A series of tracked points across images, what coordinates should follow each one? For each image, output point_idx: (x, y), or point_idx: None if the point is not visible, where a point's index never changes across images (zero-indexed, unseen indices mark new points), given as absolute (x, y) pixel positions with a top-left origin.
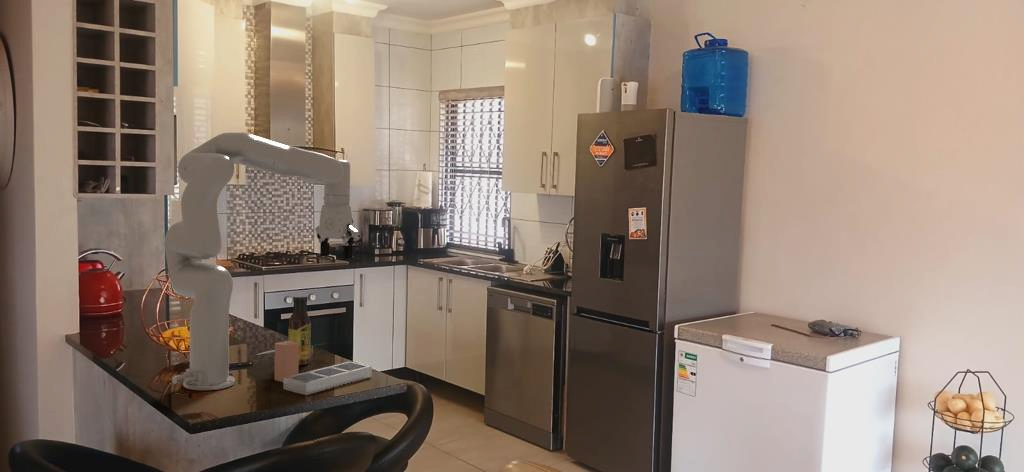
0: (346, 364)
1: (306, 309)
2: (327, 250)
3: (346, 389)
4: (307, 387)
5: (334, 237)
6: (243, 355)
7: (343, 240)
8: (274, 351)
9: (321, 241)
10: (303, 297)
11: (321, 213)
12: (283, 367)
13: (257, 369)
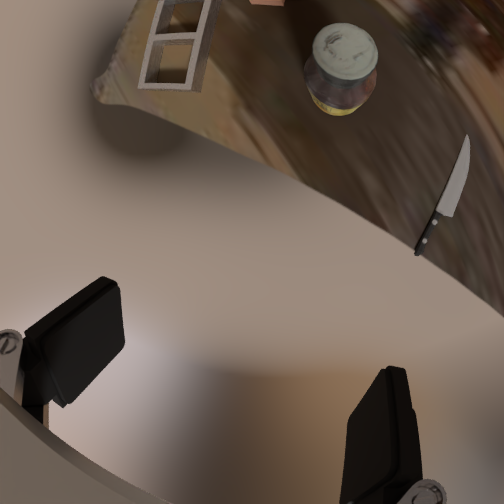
0: (188, 74)
1: (317, 69)
2: (354, 442)
3: (147, 16)
4: None
5: (17, 424)
6: (483, 121)
7: (7, 385)
8: (451, 173)
9: (407, 498)
10: (315, 36)
11: None
12: None
13: (378, 23)
